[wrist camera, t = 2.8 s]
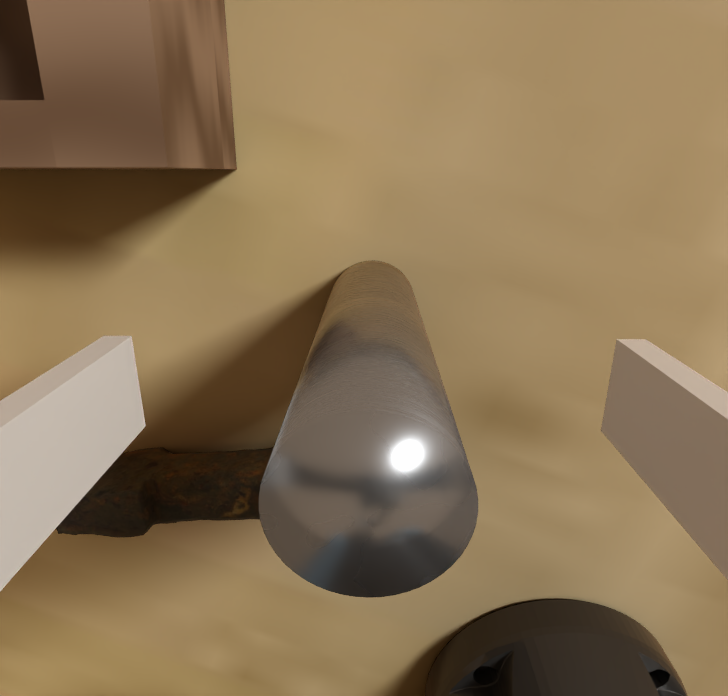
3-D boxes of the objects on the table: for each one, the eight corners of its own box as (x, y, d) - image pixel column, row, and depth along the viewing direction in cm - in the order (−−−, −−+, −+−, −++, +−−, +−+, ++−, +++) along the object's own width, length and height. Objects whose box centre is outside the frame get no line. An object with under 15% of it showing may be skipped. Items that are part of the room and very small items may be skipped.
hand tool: (418, 421, 27) (427, 470, 22) (417, 488, 28) (424, 546, 24) (60, 423, 27) (-1, 470, 23) (74, 488, 29) (19, 545, 24)
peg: (412, 342, 25) (470, 598, 10) (331, 342, 25) (265, 596, 10) (415, 260, 24) (486, 411, 9) (329, 260, 24) (250, 410, 9)
